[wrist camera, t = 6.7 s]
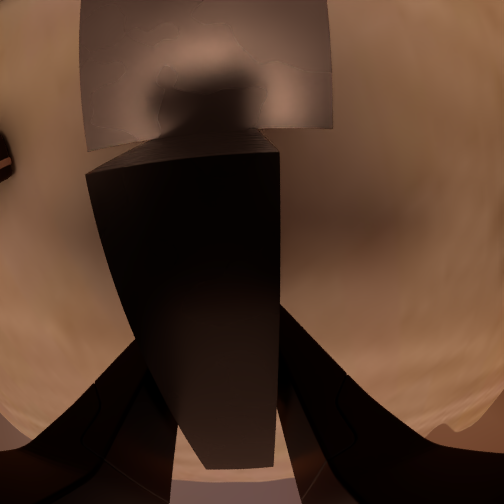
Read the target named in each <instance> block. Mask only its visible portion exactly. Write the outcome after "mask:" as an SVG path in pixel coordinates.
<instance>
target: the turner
mask: <svg viewBox="0 0 504 504" xmlns="http://www.w3.org/2000/svg"><path fill="white" fill-rule="evenodd" d="M79 65H80V86H81V100H82V111H83V120H84V129H85V136H86V143H87V150H88V152H90V151H94V150H98V149H103V148H108V147H112V146H117V145H122V144H128V143H133V142H139V141H145V140H150V141H148V142H146V143H144V144H142V145H140V146H138V147H136V148H134V149H132V150H130V151H128V152H126V153H124V154H122V155H120V156H118V157H116V158H114V159H112V160H110V161H108V162H106V163H105V164H103V165H101V166H99V167H97V168H96V169H94V170H92V171H90V172H89V173H87V174H85V176H86V181H87V186H88V191H89V195H90V200H91V204H92V209H93V213H94V217H95V221H96V225H97V228H98V232H99V236H100V239H101V243H102V246H103V250H104V253H105V256H106V260H107V263H108V266H109V269H110V272H111V275H112V278H113V281H114V284H115V287H116V290H117V293H118V296H119V298H120V301H121V304H122V306H123V309H124V312H125V314H126V317H127V319H128V322H129V324H130V327H131V329H132V332H133V334H134V337H135V339H136V341H137V344H138V346H139V348H140V350H141V353H142V355H143V357H144V359H145V361H146V364H147V366H148V368H149V370H150V372H151V374H152V376H153V378H154V380H155V382H156V384H157V386H158V388H159V390H160V392H161V394H162V396H163V398H164V400H165V402H166V404H167V406H168V407H169V409H170V411H171V413H172V415H173V416H174V418H175V420H176V422H177V424H178V425H179V427H180V429H181V430H182V432H183V434H184V435H185V437H186V439H187V440H188V442H189V444H190V445H191V447H192V448H193V450H194V452H195V453H196V455H197V456H198V458H199V459H200V461H201V462H202V464H203V465H204V467H205V468H206V469H250V468H264V467H273V465H274V448H275V430H276V410H277V387H278V359H279V321H280V154H279V151H278V150H277V149H276V148H275V147H274V146H273V145H272V144H271V143H270V142H269V141H268V140H267V139H266V138H265V137H264V136H263V135H262V134H261V133H260V132H259V131H258V130H257V129H272V128H320V129H333V99H332V65H331V46H330V31H329V19H328V8H327V0H81V9H80V30H79ZM151 139H152V140H151Z"/></svg>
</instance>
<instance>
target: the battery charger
mask: <svg viewBox="0 0 504 504" xmlns="http://www.w3.org/2000/svg"><path fill="white" fill-rule="evenodd" d="M11 164H12V162H11V159H10V157H9V156H8V152H7V148H6V145H5V143H4V140H3V138H2V136H1V135H0V183H1V182H2V181H4V180H6V179H8V178H9V177H10V176H11V175H12V168H11Z"/></svg>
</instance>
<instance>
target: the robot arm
mask: <svg viewBox="0 0 504 504" xmlns="http://www.w3.org/2000/svg"><path fill="white" fill-rule="evenodd" d="M277 410H278V414H279V418H280V422H281V426H282V430H283V434H284V437H285V441H286V445H287V449H288V453H289V457H290V461H291V465H292V468H293V472H294V476H295V479H296V484H297V487H298V491H299V495H300V499H301V502H302V504H504V453H493V452H483V451H474V450H466V449H459V448H453V447H447V446H442V445H439V444H436V443H433V442H431V441H429V440H427V439H426V438H424V437H422V436H421V435H419V434H418V433H417V432H415V431H414V430H413V429H411V428H410V427H409V426H407V425H406V424H405V423H403V422H402V421H401V420H399V419H398V418H397V417H395V416H394V415H393V414H392V413H390V412H389V411H388V410H386V409H385V408H384V407H383V406H381V405H380V404H379V403H378V402H377V401H375V400H374V399H373V398H372V397H371V396H369V395H368V394H367V393H366V392H365V391H364V390H363V389H362V388H361V387H360V386H359V385H358V384H357V383H356V382H355V381H354V380H353V379H352V378H351V377H350V376H349V375H347V373H346V372H345V371H344V370H343V369H342V368H341V367H340V366H339V365H338V364H337V363H336V362H335V361H334V360H333V359H332V357H331V356H330V355H329V354H328V353H327V352H326V351H325V350H324V349H323V348H322V347H321V346H320V345H319V344H318V343H317V342H316V341H315V340H314V339H313V338H312V337H311V336H310V335H309V334H308V333H307V331H306V330H305V329H304V328H303V327H302V326H301V325H300V324H299V323H298V322H297V321H296V320H295V319H294V318H293V317H292V316H291V315H290V314H289V313H288V312H287V311H286V309H285V308H284V307H283V306H282V305H281V304H280V321H279V359H278V387H277ZM177 428H178V424H177V422H176V420H175V418H174V416H173V415H172V413H171V411H170V409H169V407H168V406H167V404H166V402H165V400H164V398H163V396H162V394H161V392H160V390H159V388H158V386H157V384H156V382H155V380H154V378H153V376H152V374H151V372H150V370H149V368H148V366H147V364H146V361H145V359H144V357H143V355H142V353H141V350H140V348H139V346H138V344H137V341H136V339H135V340H134V341H133V342H132V343H131V344H130V345H129V346H128V347H127V348H126V349H125V350H124V351H123V352H122V353H121V354H120V355H119V356H118V357H117V358H116V359H115V361H114V362H113V363H112V364H111V365H110V366H109V367H108V368H107V369H106V370H105V371H104V372H103V373H102V374H101V375H100V376H99V378H98V379H97V380H96V381H95V384H94V383H93V384H92V385H91V386H90V387H89V388H88V389H87V390H86V391H85V392H84V393H83V394H82V395H81V397H80V398H79V399H78V400H77V401H76V402H75V403H74V404H73V405H72V406H70V407H69V408H68V409H67V410H66V411H65V412H64V413H63V414H62V415H61V416H60V417H58V418H57V419H56V420H55V421H54V422H53V423H52V424H51V425H49V426H48V427H47V428H46V429H45V430H44V431H43V432H42V433H40V434H39V435H38V436H37V437H36V438H35V439H33V440H32V441H31V442H30V443H28V444H27V445H25V446H22V447H20V448H17V449H13V450H6V451H0V504H169V503H170V492H171V481H172V471H173V462H174V452H175V444H176V436H177Z"/></svg>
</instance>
